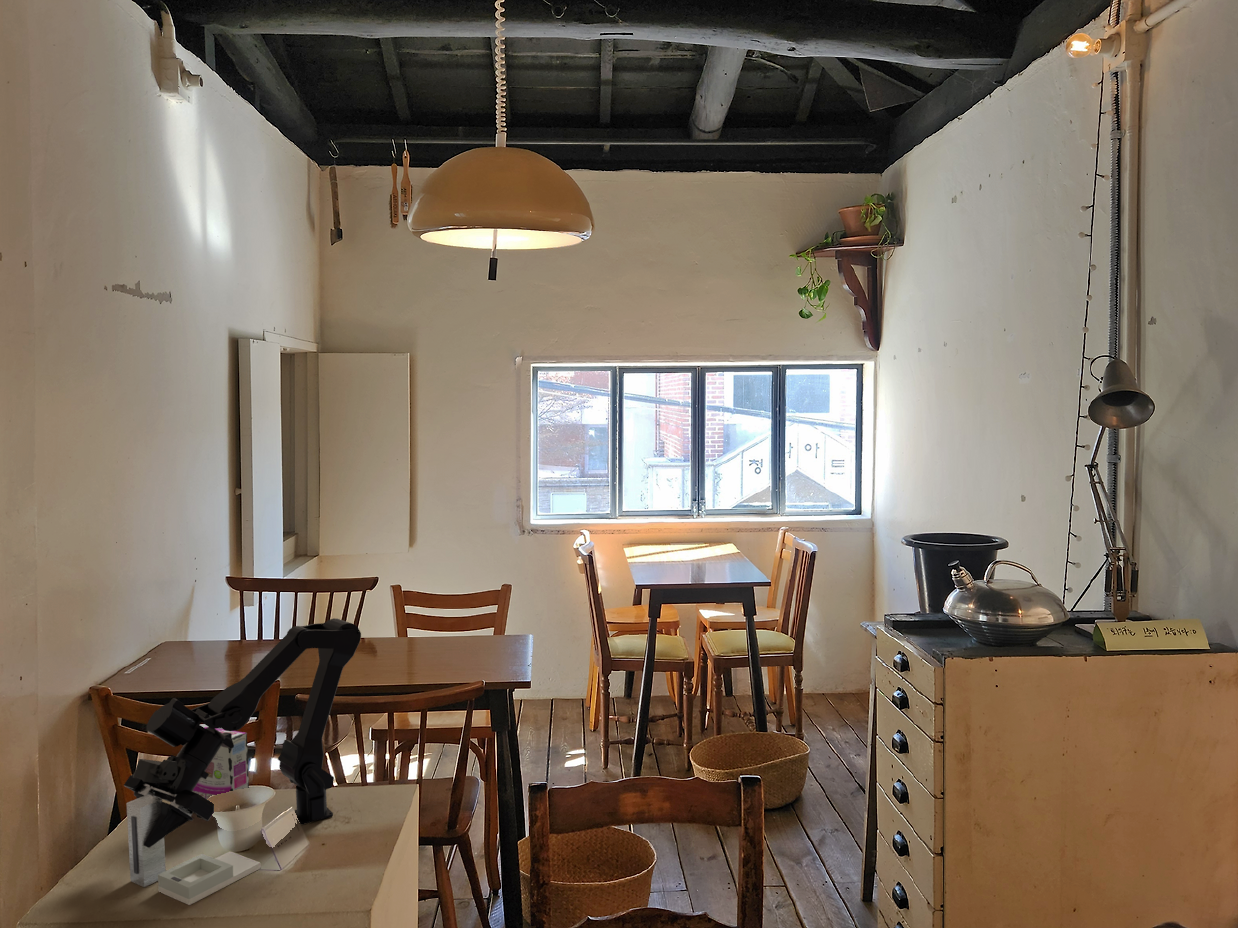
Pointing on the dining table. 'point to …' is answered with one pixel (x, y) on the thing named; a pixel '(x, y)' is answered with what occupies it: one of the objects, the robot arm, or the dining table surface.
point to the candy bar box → (226, 768)
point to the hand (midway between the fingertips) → (138, 843)
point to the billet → (140, 824)
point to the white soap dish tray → (204, 876)
